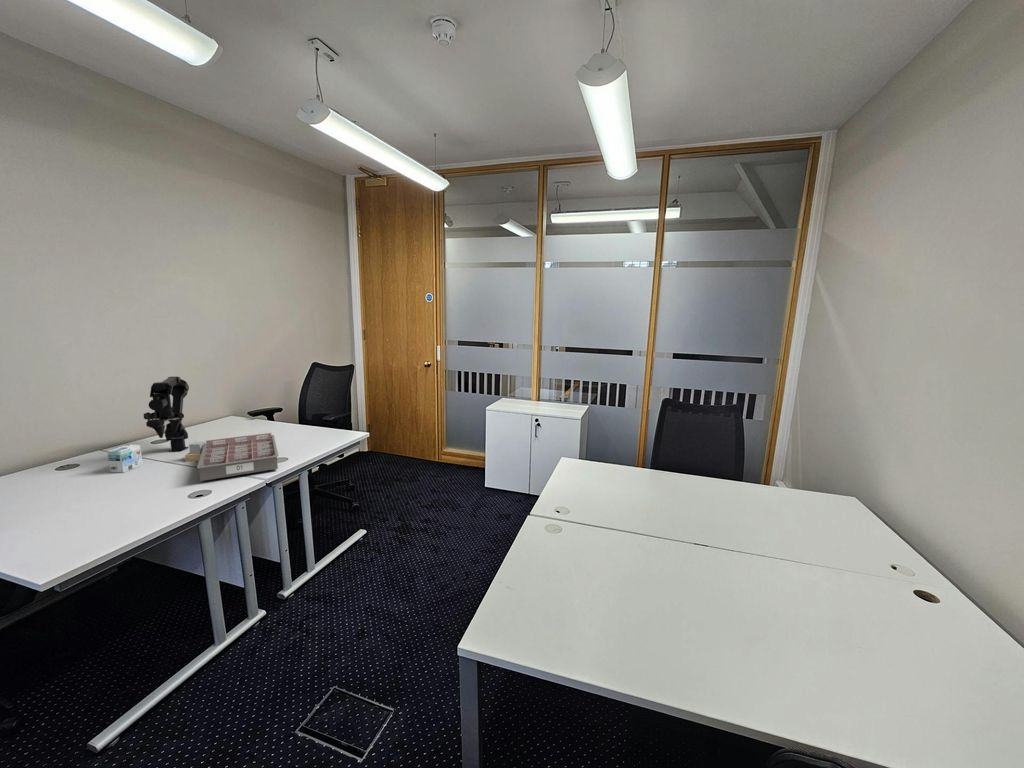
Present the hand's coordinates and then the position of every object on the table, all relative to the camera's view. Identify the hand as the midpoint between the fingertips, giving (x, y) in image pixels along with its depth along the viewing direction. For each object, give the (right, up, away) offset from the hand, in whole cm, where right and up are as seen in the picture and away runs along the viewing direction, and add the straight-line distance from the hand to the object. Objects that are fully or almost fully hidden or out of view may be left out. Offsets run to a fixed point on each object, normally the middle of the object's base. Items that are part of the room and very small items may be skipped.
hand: (167, 435), depth 217 cm
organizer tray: (+43, -14, -6) cm, 45 cm away
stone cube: (+16, -9, 0) cm, 18 cm away
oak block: (+16, -13, 0) cm, 21 cm away
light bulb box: (-8, -15, -14) cm, 22 cm away
